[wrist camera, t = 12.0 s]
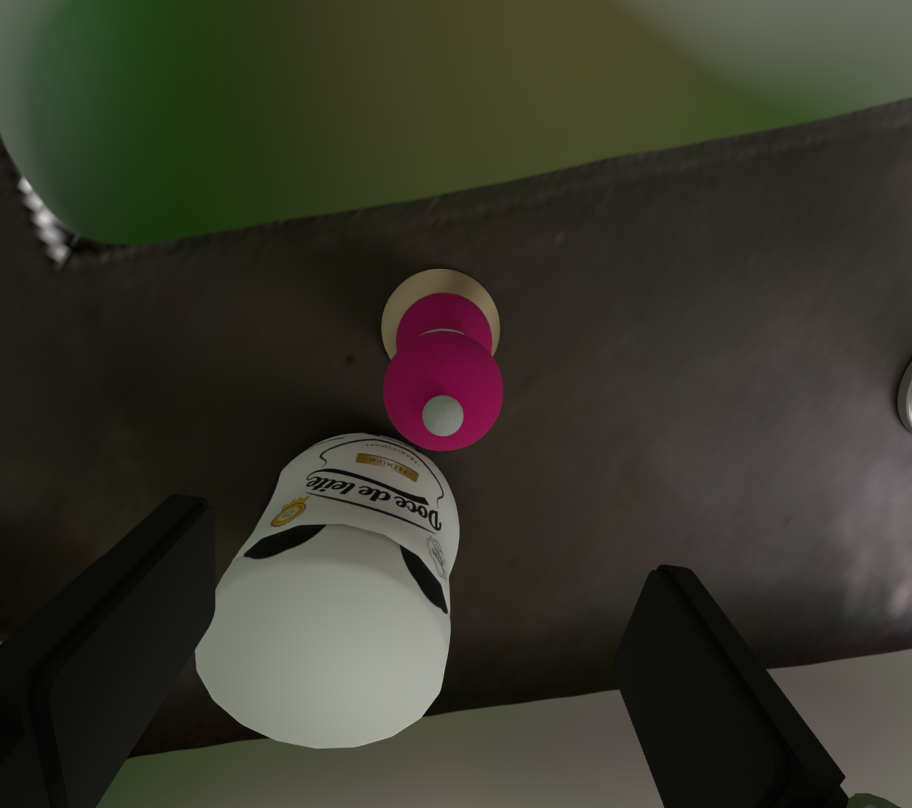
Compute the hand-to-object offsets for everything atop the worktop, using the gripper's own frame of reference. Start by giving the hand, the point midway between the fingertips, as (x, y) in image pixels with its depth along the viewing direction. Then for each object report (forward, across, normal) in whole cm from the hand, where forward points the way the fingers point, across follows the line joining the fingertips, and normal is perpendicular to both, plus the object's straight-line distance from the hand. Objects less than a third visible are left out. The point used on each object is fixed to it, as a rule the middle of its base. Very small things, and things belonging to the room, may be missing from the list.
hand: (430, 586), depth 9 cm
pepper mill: (+29, 0, 0) cm, 29 cm away
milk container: (+30, +4, +18) cm, 35 cm away
